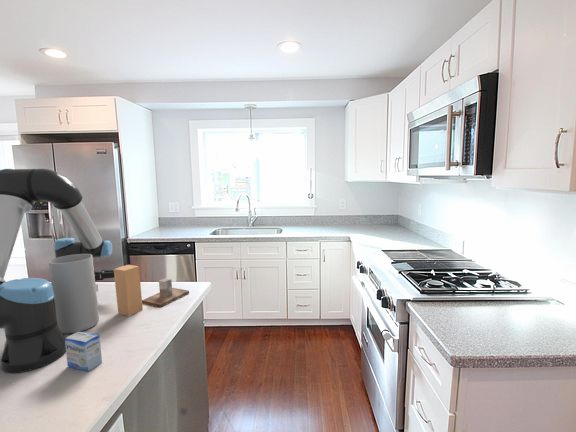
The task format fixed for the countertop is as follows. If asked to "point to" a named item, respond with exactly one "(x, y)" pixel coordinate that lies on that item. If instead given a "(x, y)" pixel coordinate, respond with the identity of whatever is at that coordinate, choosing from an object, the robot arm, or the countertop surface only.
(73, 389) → the countertop surface
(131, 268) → the tall wooden block
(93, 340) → the medicine box
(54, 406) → the countertop surface
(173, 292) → the post board
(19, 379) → the countertop surface
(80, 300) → the cylinder vase
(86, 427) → the countertop surface
